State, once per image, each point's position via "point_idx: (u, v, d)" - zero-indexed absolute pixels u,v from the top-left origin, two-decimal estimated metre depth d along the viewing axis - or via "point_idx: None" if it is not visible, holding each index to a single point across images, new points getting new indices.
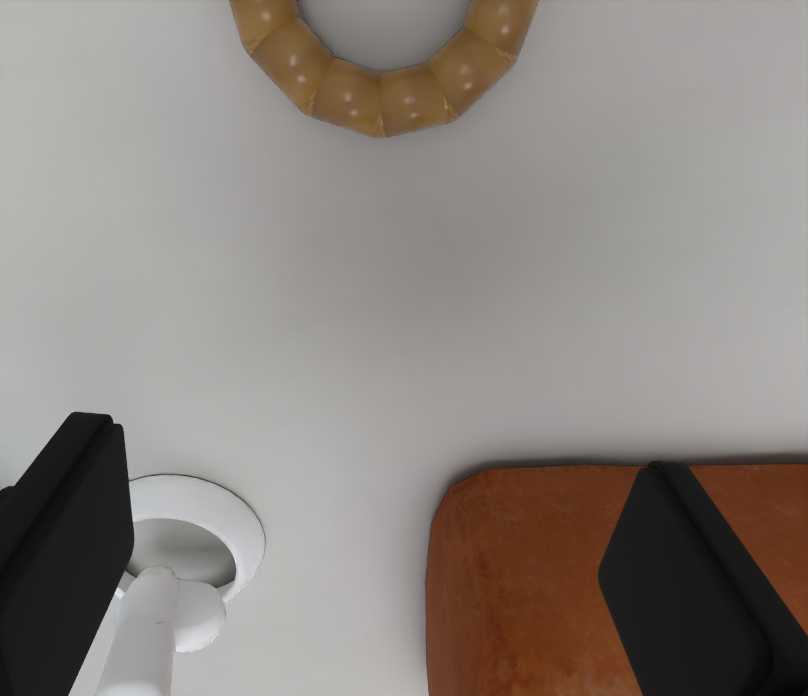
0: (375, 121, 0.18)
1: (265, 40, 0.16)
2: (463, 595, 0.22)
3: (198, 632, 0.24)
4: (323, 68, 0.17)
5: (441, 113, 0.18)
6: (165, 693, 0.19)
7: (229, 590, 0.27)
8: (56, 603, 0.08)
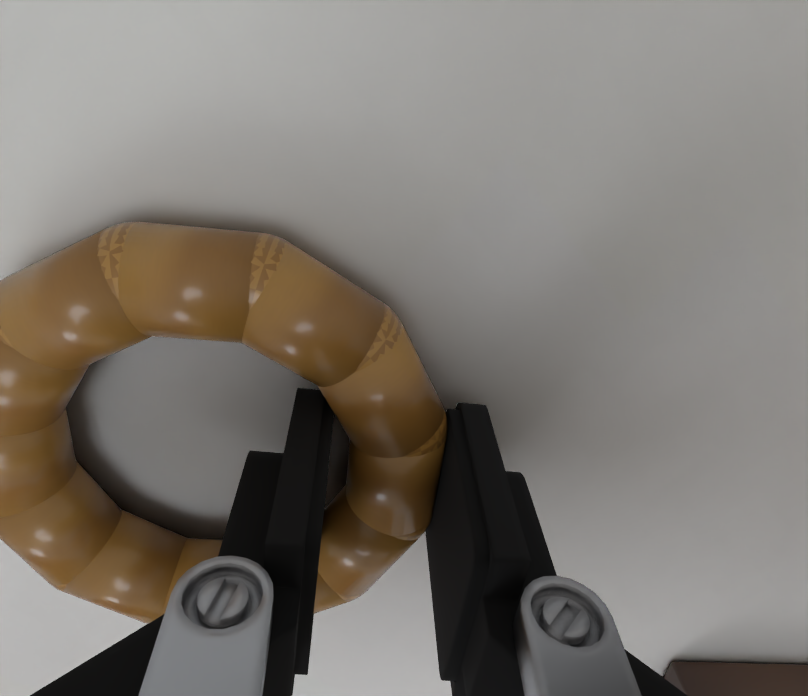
0: (54, 584, 0.12)
1: None
2: None
3: None
4: (31, 501, 0.11)
5: (145, 622, 0.12)
6: None
7: None
8: None
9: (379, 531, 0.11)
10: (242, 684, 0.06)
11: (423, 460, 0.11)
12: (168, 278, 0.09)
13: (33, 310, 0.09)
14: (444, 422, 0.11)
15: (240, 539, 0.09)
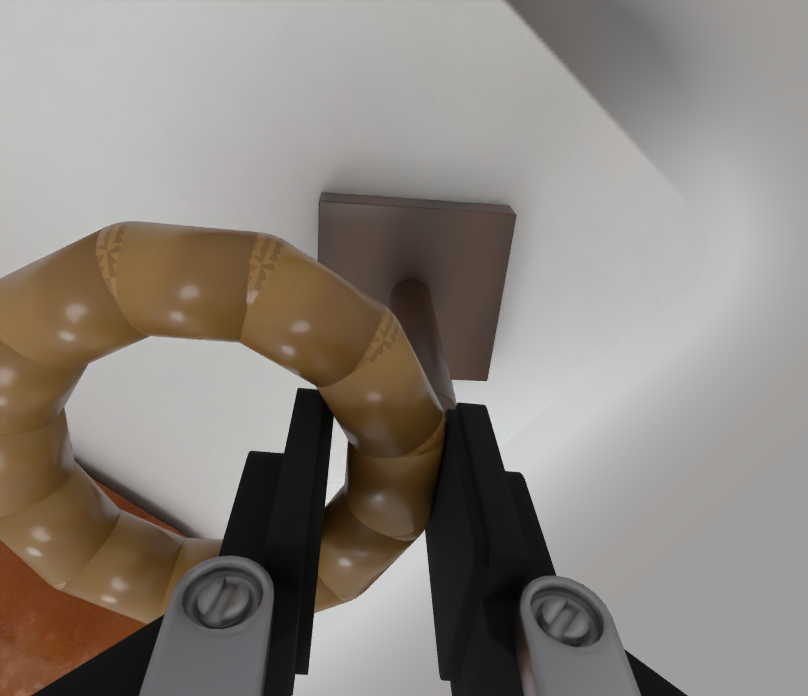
0: (52, 583, 0.12)
1: None
2: None
3: None
4: (29, 501, 0.11)
5: (144, 622, 0.12)
6: None
7: None
8: None
9: (377, 531, 0.11)
10: (242, 684, 0.06)
11: (421, 460, 0.11)
12: (166, 278, 0.09)
13: (31, 309, 0.09)
14: (442, 422, 0.11)
15: (240, 539, 0.09)
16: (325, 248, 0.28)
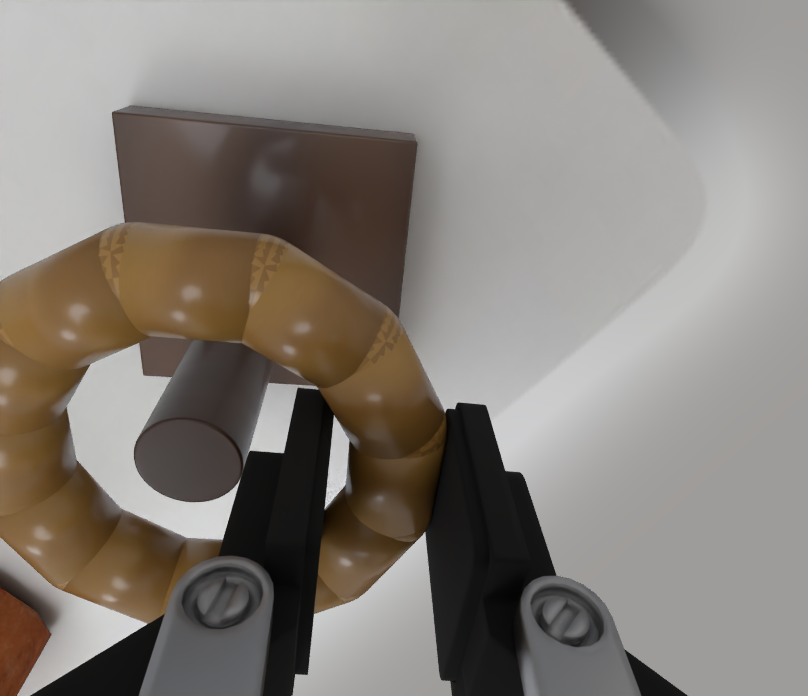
0: (54, 583, 0.12)
1: None
2: None
3: None
4: (31, 500, 0.11)
5: (145, 622, 0.12)
6: None
7: None
8: (320, 545, 0.09)
9: (378, 532, 0.11)
10: (242, 684, 0.06)
11: (422, 462, 0.11)
12: (169, 279, 0.09)
13: (35, 309, 0.09)
14: (443, 423, 0.11)
15: (240, 539, 0.09)
16: (131, 188, 0.18)
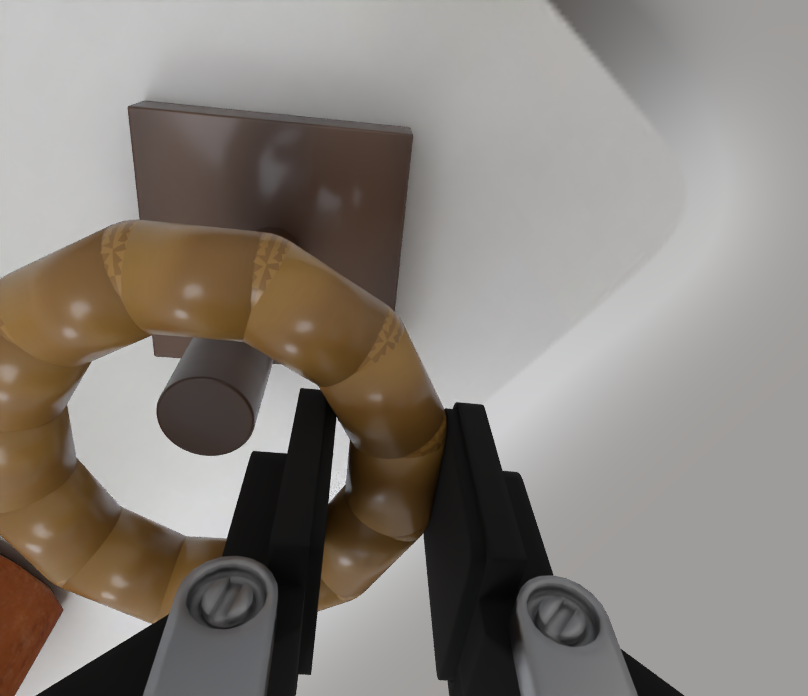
0: (53, 580, 0.12)
1: None
2: None
3: None
4: (31, 498, 0.11)
5: (143, 619, 0.12)
6: None
7: None
8: None
9: (378, 532, 0.11)
10: (246, 685, 0.06)
11: (423, 461, 0.11)
12: (171, 276, 0.09)
13: (36, 307, 0.09)
14: (444, 423, 0.11)
15: (244, 539, 0.09)
16: (145, 178, 0.20)
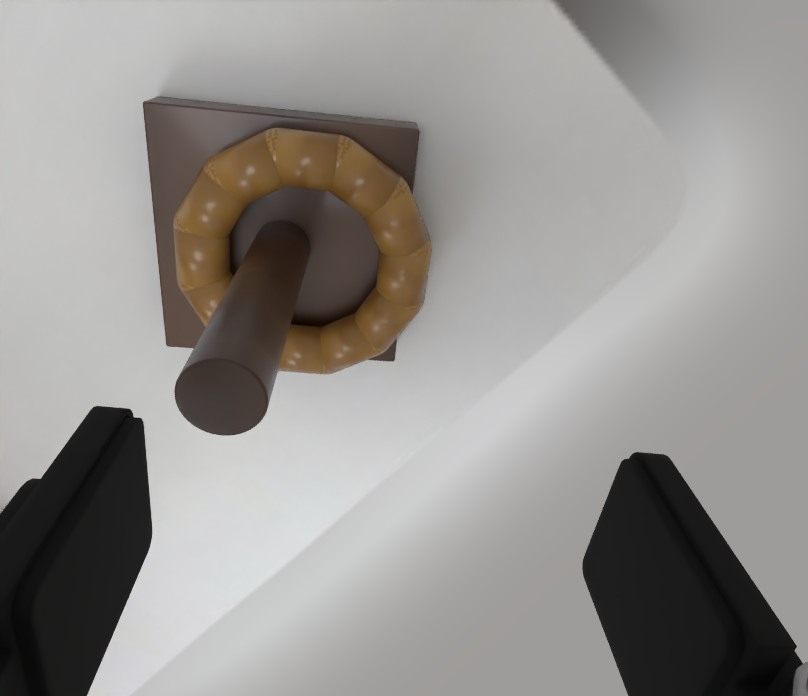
0: None
1: (190, 235, 0.20)
2: None
3: None
4: (213, 279, 0.21)
5: None
6: None
7: None
8: (82, 591, 0.08)
9: (394, 303, 0.21)
10: None
11: (418, 258, 0.20)
12: (299, 152, 0.19)
13: (233, 167, 0.19)
14: (429, 241, 0.21)
15: None
16: (159, 172, 0.20)
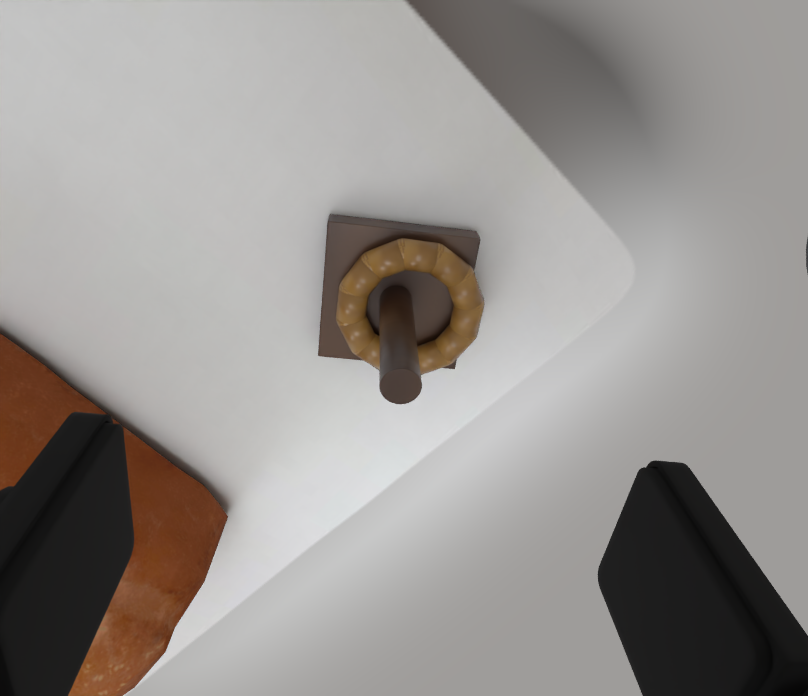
0: (357, 350, 0.37)
1: (350, 295, 0.35)
2: None
3: None
4: (359, 320, 0.36)
5: None
6: None
7: None
8: (56, 603, 0.08)
9: (461, 335, 0.36)
10: None
11: (477, 311, 0.36)
12: (416, 253, 0.34)
13: (380, 260, 0.34)
14: (483, 301, 0.36)
15: None
16: (330, 257, 0.36)
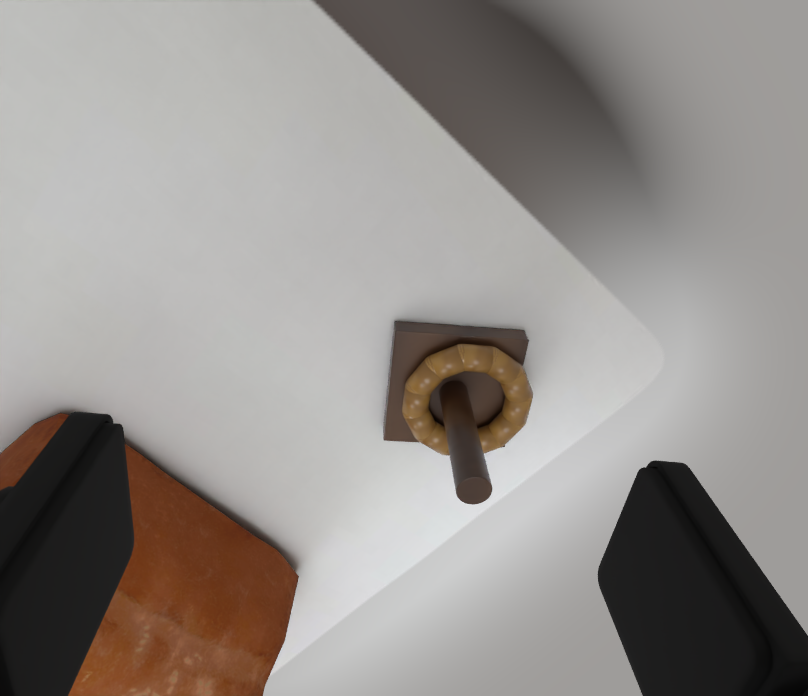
0: (421, 438, 0.42)
1: (416, 394, 0.40)
2: (17, 463, 0.38)
3: None
4: (423, 413, 0.41)
5: (441, 452, 0.42)
6: None
7: None
8: (55, 603, 0.08)
9: (513, 423, 0.41)
10: None
11: (527, 403, 0.41)
12: (475, 358, 0.39)
13: (443, 365, 0.39)
14: (532, 393, 0.41)
15: None
16: (397, 360, 0.40)
